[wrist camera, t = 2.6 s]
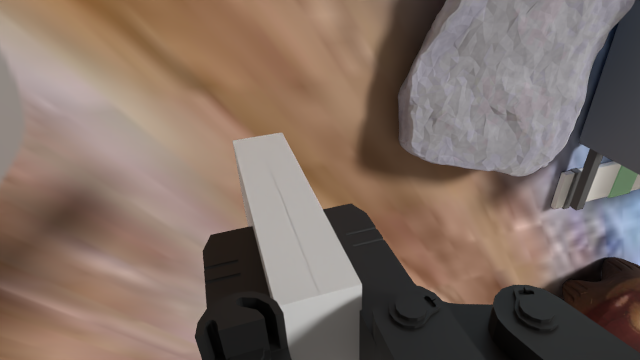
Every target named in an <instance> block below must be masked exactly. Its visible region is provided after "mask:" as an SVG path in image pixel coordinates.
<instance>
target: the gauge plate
mask: <svg viewBox="0 0 640 360" xmlns="http://www.w3.org/2000/svg"><path fill="white" fill-rule="evenodd" d="M579 143H580V144H582V145H584V146H586V147H588V148H590V150H589V153H588V156H587V158H586V161H585V164H584V167H583V170H582V172H581V175H580V178H579V181H578V184H577V186H576V189H575V192H574V195H573V198H572V200H571V203H570V206H571V207H572V208H573V209H575V210H580V209H583V207H584V204H585V202H586V199H587V197H588V194H589V191H590V189H591V186H592V184H593V181H594V178H595V176H596V173H597V170H598V168H599V165H600V163H601V160H602V157H603V156H605V157H607V158H609V159H611V160H612V161H614V162H616V163H618V164H620V165H622V166H624V167H626V168H628V169H629V170H631V171H633V172H635V173H637V174H639V175H640V0H635V1H634V4H633V5H632V7H631V9H630V10H629V11H628V12H627V13H626V14H625V16H624V17H623V18H622V19H621V20H620V21H619V24H618V27H617V30H616V33H615V36H614V39H613V42H612V45H611V48H610V51H609V54H608V57H607V60H606V62H605V65H604V68H603V71H602V74H601V77H600V80H599V83H598V86H597V89H596V92H595V95H594V98H593V101H592V104H591V107H590V110H589V113H588V116H587V119H586V122H585V125H584V128H583V131H582V134H581V137H580V139H579Z"/></svg>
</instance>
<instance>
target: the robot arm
mask: <svg viewBox="0 0 640 360" xmlns="http://www.w3.org/2000/svg"><path fill="white" fill-rule="evenodd" d="M233 146H234V151H235V157H236V162H237V168H238V174H239V179H240V185H241V190H242V196H243V202H244V207H245V213H246V218H247V222H248V226H249V227H245V228H241V229H236V230H231V231H227V232H222V233H217V234H213V235H211V236H210V238H209V240H208V242H207V244H206V246H205V248H204V250H203V260H204V270H205V271H204V275H205V284H206V285H205V289H206V303H207V309H206V311H205V312H204V314H203V315H202V317H201V318H200V320H199V321H198V324H197V329H196V334H195V339H196V342H197V345H198V348H199V351H200V354H201V357H202V360H640V353H639V352H638V351H636V350H635V349H633V348H632V347H630V346H629V345H627V344H626V343H625V342H623V341H622V340H620V339H619V338H617V337H616V336H614V335H613V334H611V333H610V332H609V331H607V330H606V329H604V328H603V327H601V326H600V325H598V324H597V323H595V322H594V321H593V320H591V319H590V318H588V317H587V316H585V315H584V314H582V313H581V312H579V311H578V310H577V309H575V308H574V307H572V306H571V305H569V304H568V303H566V302H565V301H563V300H562V299H561V298H559V297H557V296H555V295H554V294H552V293H550V292H548V291H546V290H544V289H541V288H537V287H533V286H530V285H512V286H509V287H506V288H503V289H502V290H501V291H500V292H499V293H498V294H497V295H496V296H495V298H494V302H493V305H480V304H453V303H447V302H444V301H442V300H441V299H440V298H439V297H438V296H437V295H436V294H435V293H433V292H431V291H429V290H427V289H425V288H423V287H421V286H416V285H415V283H414V282H413V281H412V279H411V278H410V277H409V275H408V274H407V272H406V271H405V269H404V268H403V266H402V265H401V263H400V262H399V260H398V259H397V257H396V256H395V255H394V253H393V252H392V250H391V249H390V247H389V246H388V244H387V243H386V241H385V240H383V237H382V235H381V234H380V232H379V231H378V230H377V229H376V228H375V225H374V224H373V222H372V221H371V219H370V218H369V216H368V215H367V213H365V212H364V211H362V210H360V209H359V208H357V207H356V206H354V205H353V204H347V205H342V206H337V207H332V208H328V209H322V207H321V205H320V204H319V202H318V200H317V198H316V196H315V194H314V192H313V190H312V188H311V186H310V185H309V183H308V181H307V179H306V177H305V175H304V173H303V171H302V169H301V167H300V166H299V164H298V162H297V160H296V158H295V156H294V154H293V152H292V150H291V149H290V147H289V145H288V143H287V141H286V139H285V137H284V135H283V133H276V134H270V135H264V136H258V137H252V138H246V139H240V140H234V141H233Z"/></svg>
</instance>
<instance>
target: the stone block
mask: <svg viewBox="0 0 640 360" xmlns="http://www.w3.org/2000/svg"><path fill="white" fill-rule="evenodd" d="M634 1H635V0H446V2H445V4H444V6H443V8H442V9H441V11H440V12H439V13H438V14H437V15H436V18H435V21H434V22H433V24H432V25H431V29H430V30H429V31H428V33H427V35H426V37H425V39H424V42H423V45H422V47H421V49H420V51H419V53H418V54H417V56H416V58H415V59H414V62H413V64H412V66H411V69H410V71H409V74H408V76H407V77H406V79H405V81H404V83H403V84H402V86H401V88H400V91H399V93H398V104H399V142H400V145H401V146H402V147H403V148H404V149H405V150H406V151H407V152H409V153H411V154H413V155H415V156H418V157H419V158H421V159H422V160H425V161H428V162H431V163H434V164H440V165H452V166H457V167H462V168H467V169H474V170H485V171H492V170H493V171H497V172H501V173H505V174H509V175H512V176H518V177H520V176H527V175H529V174H532V173H534V172H535V171H537V170H538V169H539V168H541V167H546V166H547V165H548V163H549V162H550V161H552V160H553V159H554V157H555V156H556V155H557V154H558V153H559V152H560V151H561V150H562V149H563V148H564V147H565V145H566V144H567V141H568V139H569V137H570V134H571V132H572V131H573V129H574V126H575V123H576V120H577V118H578V116H579V115H580V112H581V109H582V106H583V104H584V102H585V98H586V93H587V85H588V79H589V75H590V72H591V68H592V66H593V63H594V60H595V58H596V56H597V53H598V52H599V51H600V50H601V49H602V47H603V46H604V44H605V42H606V39H607V37H608V34H609V32H610V31H611V29H612V28H613V27H614V26H615V25H616V24H617V23H618V22H619V21H620V20H621V19H622V18H623V17H624V16H625V14H626V13H627V12H628V11H629V10H630V9H631V7H632V5H633V4H634Z"/></svg>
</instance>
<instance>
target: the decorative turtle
mask: <svg viewBox="0 0 640 360" xmlns="http://www.w3.org/2000/svg"><path fill="white" fill-rule="evenodd" d="M562 291H563V296H564V299H565V302H566V303H568V304H569V305H571V306H572V307H574V308H575V309H577V310H578V311H579V312H581V313H582V314H584V315H585V316H587V317H588V318H590V319H591V320H593V321H594V322H595V323H597V324H598V325H600V326H601V327H603V328H604V329H606V330H607V331H609V332H610V333H611V334H613V335H614V336H616V337H617V338H619V339H620V340H622V341H623V342H625V343H626V344H627V345H629V346H630V347H632V348H633V349H635V350H636V351H638V352H639V353H640V266H639V265H637V264H634V263H631V262H629V261H626V260H624V259H620V258H616V257H610V258H607V259H605V260H604V262H603V266H602V279H601V281H600V282H589V281H582V280H568V281H566V282H565V283H564V284H563V287H562Z"/></svg>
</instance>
